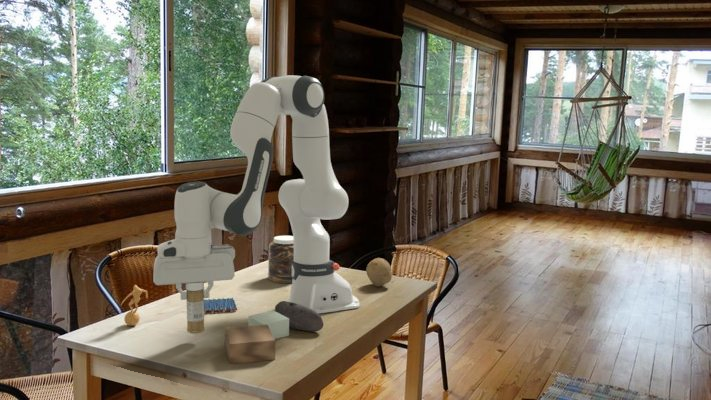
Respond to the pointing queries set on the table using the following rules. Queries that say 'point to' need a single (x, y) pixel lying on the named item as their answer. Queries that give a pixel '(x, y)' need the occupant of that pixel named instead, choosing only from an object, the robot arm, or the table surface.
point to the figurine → (133, 316)
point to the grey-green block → (271, 323)
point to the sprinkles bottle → (195, 307)
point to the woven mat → (219, 305)
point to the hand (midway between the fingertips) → (195, 298)
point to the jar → (281, 259)
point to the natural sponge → (379, 272)
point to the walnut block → (249, 344)
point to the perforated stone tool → (300, 316)
